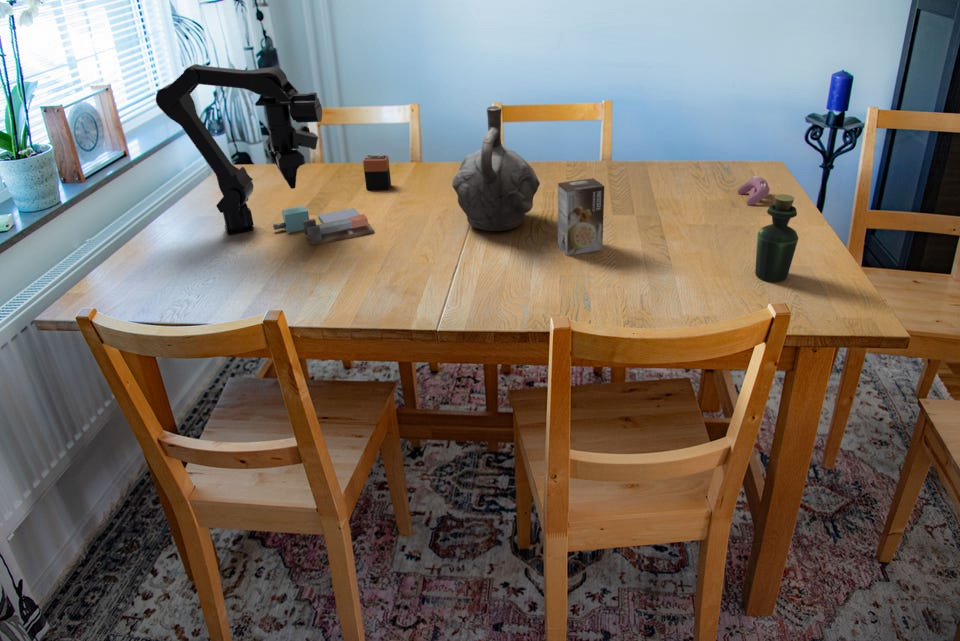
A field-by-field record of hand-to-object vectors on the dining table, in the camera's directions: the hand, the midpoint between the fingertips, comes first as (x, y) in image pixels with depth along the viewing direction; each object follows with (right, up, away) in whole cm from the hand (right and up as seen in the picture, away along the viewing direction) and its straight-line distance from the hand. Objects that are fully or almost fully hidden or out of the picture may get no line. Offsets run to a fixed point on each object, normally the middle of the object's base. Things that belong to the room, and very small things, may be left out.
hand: (290, 184), depth 190 cm
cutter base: (+13, -13, +1) cm, 18 cm away
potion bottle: (+111, -25, -28) cm, 117 cm away
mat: (+11, -8, +9) cm, 17 cm away
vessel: (+52, -10, +3) cm, 53 cm away
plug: (-1, -11, +6) cm, 12 cm away
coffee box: (+72, -18, -11) cm, 75 cm away
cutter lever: (+12, -11, 0) cm, 17 cm away
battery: (+18, +4, +31) cm, 36 cm away
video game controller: (+122, -2, +12) cm, 122 cm away
